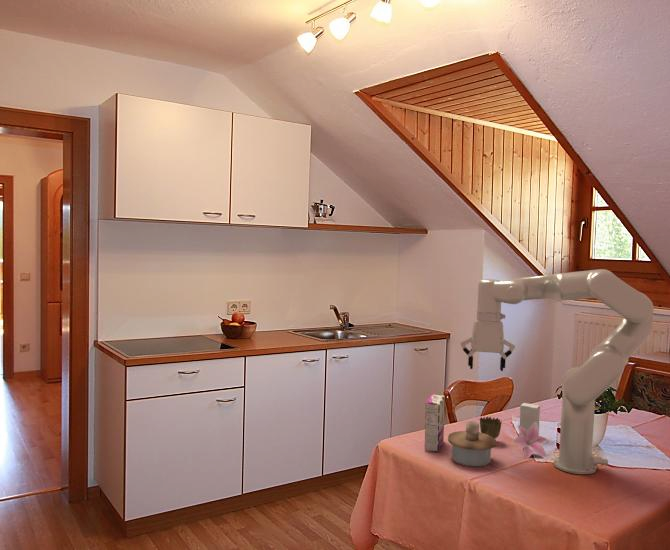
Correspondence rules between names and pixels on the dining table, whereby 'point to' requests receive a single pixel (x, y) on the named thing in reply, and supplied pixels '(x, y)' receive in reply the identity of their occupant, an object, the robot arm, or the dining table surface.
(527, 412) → the skincare box
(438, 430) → the candy bar box
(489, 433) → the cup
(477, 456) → the bowl
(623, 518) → the dining table surface
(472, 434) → the lid
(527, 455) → the lily
